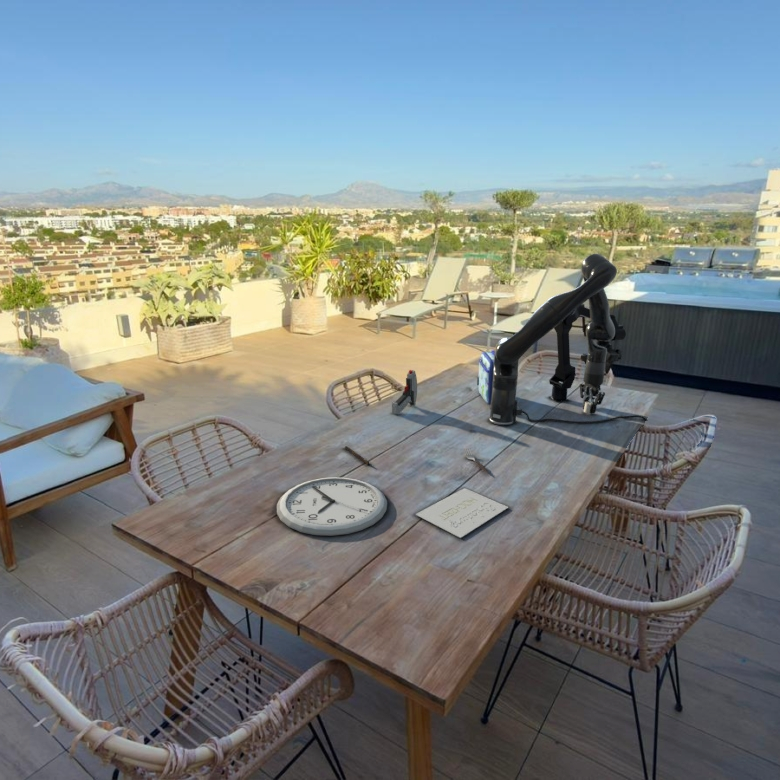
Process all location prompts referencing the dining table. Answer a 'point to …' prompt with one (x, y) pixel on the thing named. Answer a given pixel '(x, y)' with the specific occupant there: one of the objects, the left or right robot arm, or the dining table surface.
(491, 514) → the invitation card
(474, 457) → the fork
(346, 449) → the brown thin stick
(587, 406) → the cream short cylinder
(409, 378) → the toy gun
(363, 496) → the wall clock
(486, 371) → the lunch box
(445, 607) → the dining table surface
